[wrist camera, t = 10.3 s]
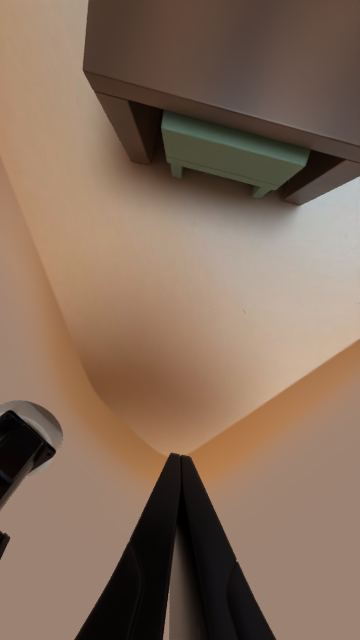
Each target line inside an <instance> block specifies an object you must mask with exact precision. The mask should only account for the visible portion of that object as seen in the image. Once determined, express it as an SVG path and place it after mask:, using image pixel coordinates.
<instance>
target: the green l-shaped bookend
mask: <svg viewBox="0 0 360 640" xmlns="http://www.w3.org/2000/svg"><path fill="white" fill-rule="evenodd" d="M161 130H162V136H163V142H164V147H165V153H166V160H167V162H168V163H170V164H171V171H172V176H173V177H177V178H181V177H182V172H183V167H187V168H191V169H194V170H198V171H202V172H206V173H210V174H214V175H217V176H221V177H225V178H229V179H233V180H237V181H240V182H244V183H248V184H252V185H255V186H254V189H253V192H252V197H254V198H258V199H260V198H261V197H263V196H264V195H265V194H266V193H267V192H269V191H270V190H276V189H278V188H279V187H280V186H281V185H282V184H284V183H285V182H286V181H287V180H289V179H290V178H291V177H292V176H294V175H295V174H296V173H297V172H299V171H300V170H301V169H303V168H304V167H305V166H306V163H307V160H308V157H309V154H310V151H311V149H308V148H304V147H301V146H297V145H293V144H290V143H286V142H282V141H279V140H275V139H271V138H268V137H264V136H260V135H257V134H253V133H249V132H246V131H242V130H238V129H234V128H231V127H227V126H223V125H220V124H216V123H212V122H209V121H205V120H201V119H198V118H194V117H190V116H187V115H183V114H179V113H176V112H172V111H168V110H165V109H164V112H163V118H162V124H161Z"/></svg>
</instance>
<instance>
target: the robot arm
mask: <svg viewBox="0 0 360 640" xmlns="http://www.w3.org/2000/svg"><path fill="white" fill-rule="evenodd" d="M55 454H56V450H55V448H53V447H52V446H51V445H50V444H49V443H48V442H47V441H46V440H45V439H44V438H43V437H41V436H40V435H39V434H38V433H37V432H36V431H35V430H34V429H33V428H32V427H31V426H29V425H28V424H27V423H26V422H25V421H24V420H23V419H22V418H21V417H20V416H18V415H17V414H16V413H15V412H14V411H12V410H8V411H6V412H5V413H3V414H2V415H1V416H0V510H1V509H2V508H3V506H4V505H5V504H6V502H7V501H8V500H9V498H10V497H11V496H12V494H13V493H14V492H15V490H16V489H17V488H18V486H19V485H20V484H21V482H22V481H23V479H24V478H25V477H26V475H27V474H29V473H30V472H32V471H33V470H35V469H36V468H38V467H39V466H41V465H42V464H44V463H45V462H47V461H48V460H50V459H51V458H53V457H54V455H55ZM9 540H10V536H8V535H7V534H6V533H4V534H3V533H2V532H1V531H0V559H1V557H2V555H3V553H4V550H5V548H6V546H7V544H8V542H9ZM169 585H170V620H169V623H170V624H169V629H170V630H169V640H276V638H275V636H274V634H273V633H272V631H271V629H270V627H269V625H268V623H267V621H266V619H265V617H264V615H263V613H262V612H261V610H260V608H259V606H258V604H257V602H256V600H255V598H254V595H253V593H252V591H251V589H250V587H249V585H248V583H247V581H246V579H245V577H244V574H243V572H242V570H241V567H240V565H239V563H238V562H236V557H235V554H234V552H233V550H232V548H231V545H230V543H229V541H228V539H227V537H226V534H225V532H224V530H223V528H222V525H221V523H220V521H219V519H218V516H217V514H216V512H215V510H214V508H213V505H212V503H211V501H210V499H209V497H208V494H207V492H206V490H205V488H204V485H203V483H202V481H201V479H200V477H199V474H198V472H197V470H196V468H195V465H194V463H193V461H192V459H191V457H189V456H185V455H181V456H180V455H179V454H175V453H170V455H169V457H168V459H167V461H166V463H165V466H164V468H163V470H162V472H161V474H160V477H159V478H158V481H157V483H156V485H155V487H154V489H153V491H152V493H151V495H150V497H149V500H148V502H147V504H146V506H145V508H144V510H143V512H142V514H141V517H140V519H139V521H138V523H137V525H136V527H135V529H134V532H133V534H132V536H131V538H130V541H129V542H128V544H127V546H126V548H125V550H124V552H123V554H122V557H121V559H120V561H119V563H118V565H117V567H116V569H115V570H114V572H113V574H112V576H111V578H110V580H109V582H108V584H107V585H106V587H105V589H104V591H103V593H102V594H101V596H100V598H99V599H98V601H97V603H96V604H95V607H94V608H93V609H92V611H91V613H90V614H89V616H88V618H87V619H86V621H85V623H84V624H83V626H82V628H81V629H80V631H79V633H78V635H77V636H76V638H75V639H74V640H163V633H164V625H165V617H166V608H167V601H168V593H169Z"/></svg>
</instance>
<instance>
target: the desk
mask: <svg viewBox="0 0 360 640" xmlns="http://www.w3.org/2000/svg"><path fill="white" fill-rule="evenodd" d="M83 72H84V74H85V76H86V78H87V79H88V81H89V83H90V85H91V87H92V89H93V90H94V92H95V94H96V96H97V98H98V100H99V101H100V103H101V105H102V107H103V109H104V111H105V113H106V115H107V117H108V119H109V120H110V122H111V124H112V126H113V128H114V130H115V132H116V134H117V136H118V137H119V139H120V141H121V143H122V145H123V147H124V149H125V151H126V153H127V155H128V156H129V158H130V160H131V161H134V162H138V163H142V164H145V165H151V160H152V154H153V148H154V142H155V136H156V130H157V124H158V118H159V113H160V108H161V109H165V110H168V111H172V112H176V113H179V114H183V115H187V116H190V117H194V118H198V119H201V120H205V121H209V122H212V123H216V124H220V125H223V126H227V127H231V128H234V129H238V130H242V131H246V132H249V133H253V134H257V135H260V136H264V137H268V138H271V139H275V140H279V141H282V142H286V143H290V144H293V145H297V146H301V147H304V148H308V149H311V151H310V154H309V157H308V160H307V163H306V166H305V167H304V168H303V169H301V170H300V171H299V172H297V173H296V174H295V175H294V176H292V177H291V178H290V179H289V181H288V184H287V187H286V191H285V194H284V197H283V201H287V202H291V203H295V204H299V205H302V204H304V203H306V202H308V201H310V200H312V199H315V198H317V197H319V196H321V195H323V194H325V193H327V192H329V191H331V190H333V189H335V188H337V187H339V186H341V185H343V184H345V183H347V182H349V181H351V180H353V179H355V178H357V177H359V176H360V0H89V3H88V14H87V26H86V37H85V49H84V60H83Z"/></svg>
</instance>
